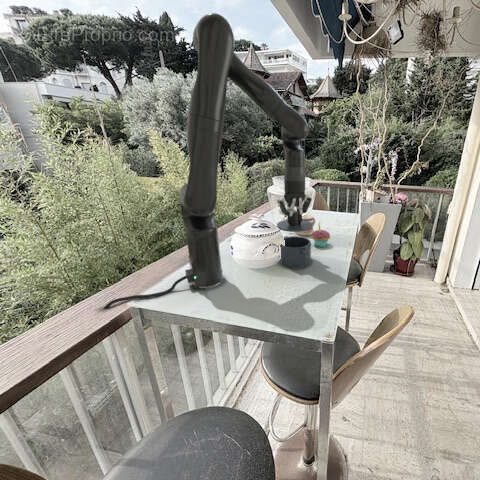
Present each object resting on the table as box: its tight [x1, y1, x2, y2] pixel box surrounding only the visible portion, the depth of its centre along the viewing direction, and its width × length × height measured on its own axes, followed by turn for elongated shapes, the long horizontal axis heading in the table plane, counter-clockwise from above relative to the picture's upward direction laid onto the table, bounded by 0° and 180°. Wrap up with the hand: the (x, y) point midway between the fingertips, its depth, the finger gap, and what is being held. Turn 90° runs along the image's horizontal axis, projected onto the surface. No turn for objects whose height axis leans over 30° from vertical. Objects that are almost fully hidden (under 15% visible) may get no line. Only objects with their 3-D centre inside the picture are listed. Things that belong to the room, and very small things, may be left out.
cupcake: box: [311, 222, 331, 248], centre depth 122 cm, size 9×8×12 cm
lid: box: [276, 210, 314, 233], centre depth 101 cm, size 14×14×6 cm
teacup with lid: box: [296, 213, 316, 237], centre depth 138 cm, size 12×9×12 cm
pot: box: [278, 235, 312, 269], centre depth 106 cm, size 13×18×8 cm
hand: (294, 224), depth 101 cm, fingers closed on lid, 3 cm apart
